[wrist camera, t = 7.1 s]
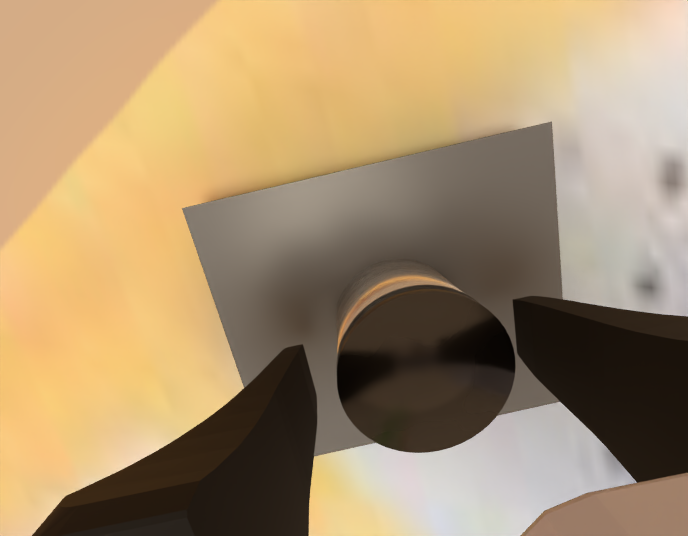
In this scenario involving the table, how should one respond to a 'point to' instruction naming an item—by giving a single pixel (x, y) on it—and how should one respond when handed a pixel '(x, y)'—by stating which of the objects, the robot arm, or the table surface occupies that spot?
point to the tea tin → (419, 358)
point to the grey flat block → (382, 252)
